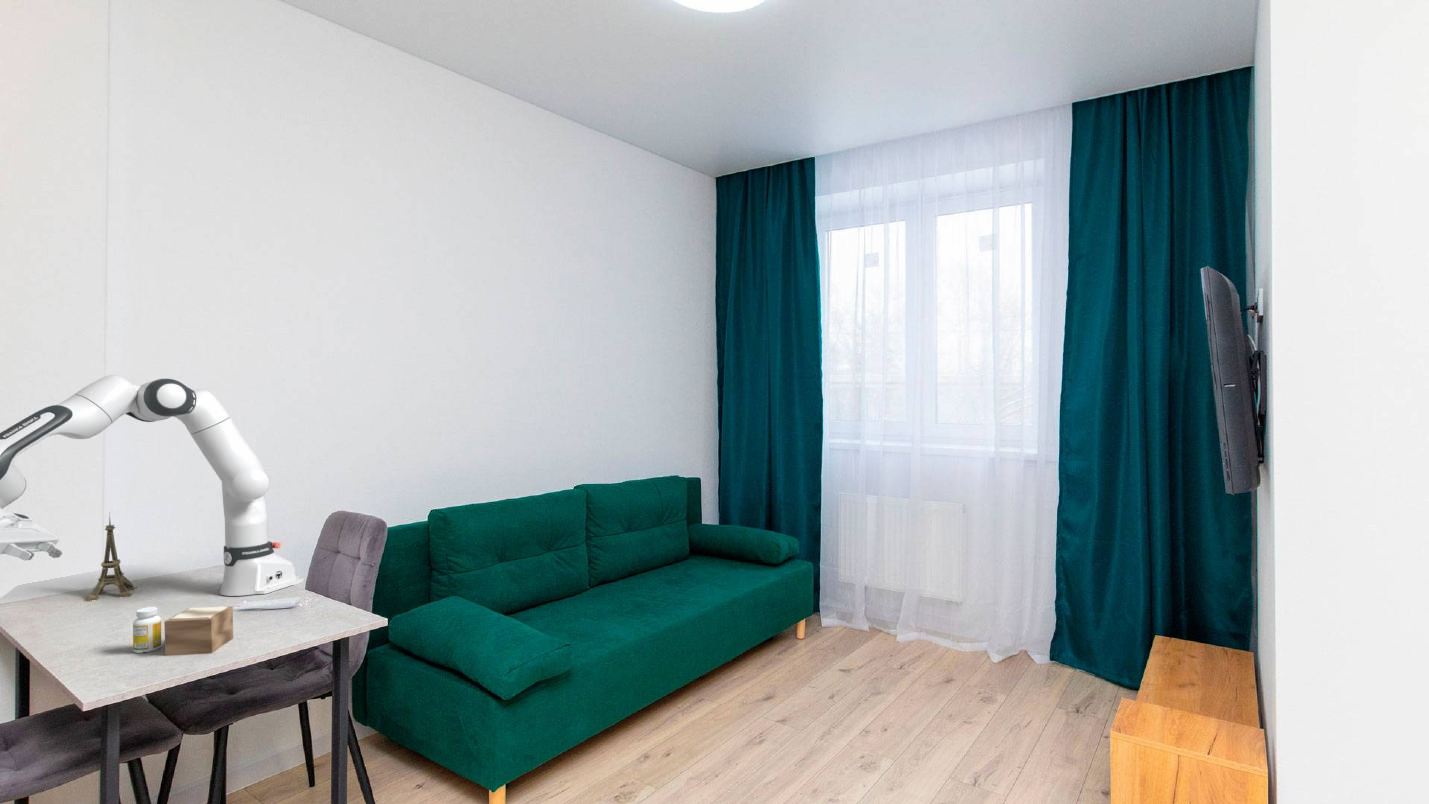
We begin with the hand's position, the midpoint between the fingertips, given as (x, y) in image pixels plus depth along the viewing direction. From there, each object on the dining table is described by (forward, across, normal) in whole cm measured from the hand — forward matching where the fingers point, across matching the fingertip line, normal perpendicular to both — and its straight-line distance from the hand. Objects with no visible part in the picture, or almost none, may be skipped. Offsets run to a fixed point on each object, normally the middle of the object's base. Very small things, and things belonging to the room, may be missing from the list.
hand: (45, 556), depth 174 cm
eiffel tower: (-5, +52, +19) cm, 55 cm away
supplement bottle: (+32, +1, +8) cm, 33 cm away
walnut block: (+41, 0, +2) cm, 41 cm away
